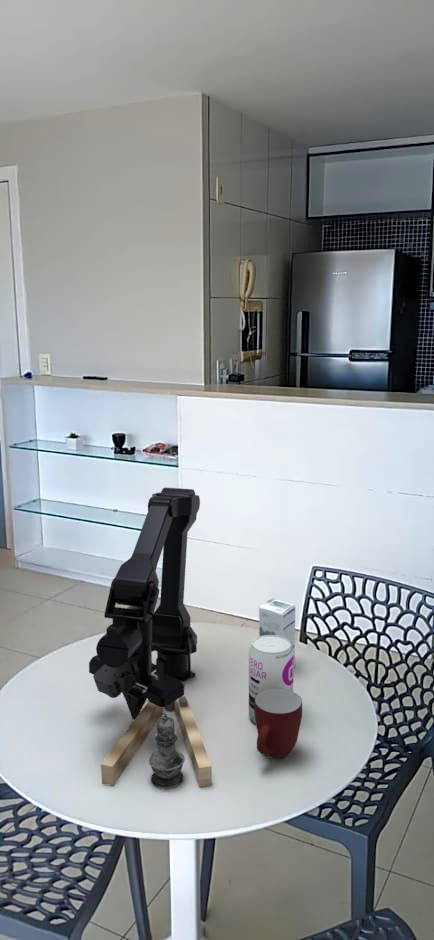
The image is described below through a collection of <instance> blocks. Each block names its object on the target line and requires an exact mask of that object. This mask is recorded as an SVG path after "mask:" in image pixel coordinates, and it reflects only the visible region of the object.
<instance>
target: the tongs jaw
mask: <svg viewBox="0 0 434 940" xmlns="http://www.w3.org/2000/svg"><path fill="white" fill-rule="evenodd" d="M164 711H165V709H164V707H159V706H157V705H155V704H153V703H151V702H149V700H147V703H146V704H144V706H143V707H142V709H141V711H140V713H139V715H138V716H137V717H136V719H135V720H134V719H133V721H132V723H130V725H129V726H128V728H127V729H126V731H125V732H124V733H123V734H122V736H121V737H120V739H119V740H118V741H117V742H116V744H115V745H114V746H113V748H112V749H111V751H110V752H109V753H108V754H107V756H106V757H105V759H104V760H103V761H102V763H101V764H100V772H101V784H103V785H108V786H114V785H115V784H116V782H117V781H118V780H119V778H120V776H121V775H122V774H123V773H124V771H125V770H126V768H127V767H128V765H129V764H130V762H131V761H132V759H133V758H134V756H135V755H136V754H137V753H138V751H139V749H140V748H141V746H142V745H143V743H144V742H145V741H146V739H147V738H148V736H149V735H150V733H151V732H152V731H153V729H154V728H155V726H157V720H158V719H159V718H160V717H162V716H163V714H164V713H165V712H164Z"/></svg>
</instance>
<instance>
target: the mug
mask: <svg viewBox="0 0 434 940" xmlns="http://www.w3.org/2000/svg"><path fill="white" fill-rule="evenodd" d="M254 713H255V721H256V723H255V726H256V729H257V739H256V749H257V752H258V753H260V754H261V755H266V756H268V757H269V758H271V759H273V760H284V759H286V758H288V757H289V756H290V754H291V752H292V751H293V750H294V748H295V746H296V744H297V741H298V738H299V737H298V736H299V733H300V728H301V723H302V718H303V699H302V698H301V696H300V695H299V694H298V693H296V692H294V690H293V691H290V690H287V689H280V688H274V689H267V690H264V691H262V692H260V693H259V694H257V696H256V697H255V704H254Z"/></svg>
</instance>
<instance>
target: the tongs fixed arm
mask: <svg viewBox="0 0 434 940" xmlns="http://www.w3.org/2000/svg"><path fill="white" fill-rule="evenodd" d="M164 711H167V712H174V713H175V716H176V719H177V722H178V726H179V729H180V731H181V735H182V737H183V741H184V744H185V746H186V749H187V753H188V757H189V759H190V762H191V766H192V769H193V772H194V774H195V777H196V781H197V783H198V787H199V788H202V787H209V786H213V784H212V783H213V782H212V763H211V762H210V759H209V756H208V753H207V750H206V748H205V746H204V743H203V740H202V736H201V734H200V731H199V729H198V726H197V723H196V720H195V718H194V715H193V712H192V710H191V706H190V703H189V701H188V698H187V696H186V693H185V691H184V695H183V696H182V697H180V698H178V699H177V700H175V701H174V702H172V703H171V704H169V705H167V706H166V707H164Z"/></svg>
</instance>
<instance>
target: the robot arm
mask: <svg viewBox="0 0 434 940" xmlns="http://www.w3.org/2000/svg"><path fill="white" fill-rule="evenodd" d="M200 506H201V499H200V495H198V494H196V492H195V489H191V488H178V487H163V488H162V489H161V491H160V492H156V493H152V495H151V497H149V500H148V502H147V514H146V516H145V518H144V521H143V524H142V526H141V527H142V528H141V530H140V531H139V532H140V533H139V535H138V539H137V541H136V543H135V546H134V549H133V552H132V555H131V557H130V558H128V559H127V560H126V561H125V562H123V563H122V564H121V565H120V566H119V568H118V570H117V572H116V575H115V577H114V578H113V579H112V581H111V583H110V588H109V592H108V593H109V594H108V597H107V602H106V606H105V612H104V615H103V617H104V618H105V619H112V624H110V625H108V627H106V632H105V634H104V635H102V636H101V638H100V639H99V640H98V641H97V644H96V646H95V647H96V648H95V650H96V655H94V656H93V657H91V659H90V660H89V661H88V662H89V663H88V673H89V674H91V675H93V676H92V677H93V680H94V683H95V686H96V688H97V691H98V692H99V693H103V694H105V695H107V696H108V697H109V698H111V699H116V698H117V697H119V696H120V695H121V694H122V696H123V698H124V700H125V702H126V704H127V708H128V711H129V714H130V716H131V719H132V720H133V721H134V720H135V719H136V717H137V716H138V715H139V713H140V712H141V711H142V709H143V708H144V706H145V703H146V701H149V702H151V703H153V704H155V705H157V706H159V707H166V706H167V705H169V704H171V703H172V702H174V701H175V700H177V699H178V698H180V697H182V696H183V695H184V692H185V683H184V682H186V681H188V680H190V679H192V678H194V677H196V675H197V674H196V672H194V671H192V670H191V668H192V667H191V661H192V660H191V655H192V654H195V653H196V652H198V651H197V649H198V647H197V646H198V645H197V644H198V635H197V633H196V632H195V631H194V629H193V628H192V626H191V616H190V613H189V612H188V610H187V608H186V606H185V603H184V599H185V596H184V595H185V583H186V581H185V579H186V567H187V566H186V563H187V549H188V547H187V546H188V533H189V531H190V530H191V528H192V527H193V526H194V523H196V520H197V516H198V515H197V514H198V512H199V510H200ZM161 555H162V564H161V565H162V566H161V579H160V580H161V583H160V581H159V578H158V574H157V572H156V571H157V566H158V563H159V561H160V557H161ZM159 584H161V585H160V589H159ZM159 596H160V599H159V605H158V607H157V608H156V606H157V603H158V598H159ZM116 604H117V605H120V606H127V607H119V606H116ZM152 652H156V654H157V658H155V659H156V660H155V663H153V662H152V661H153V659H152V658H153V657H152V656H153V653H152Z"/></svg>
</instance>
